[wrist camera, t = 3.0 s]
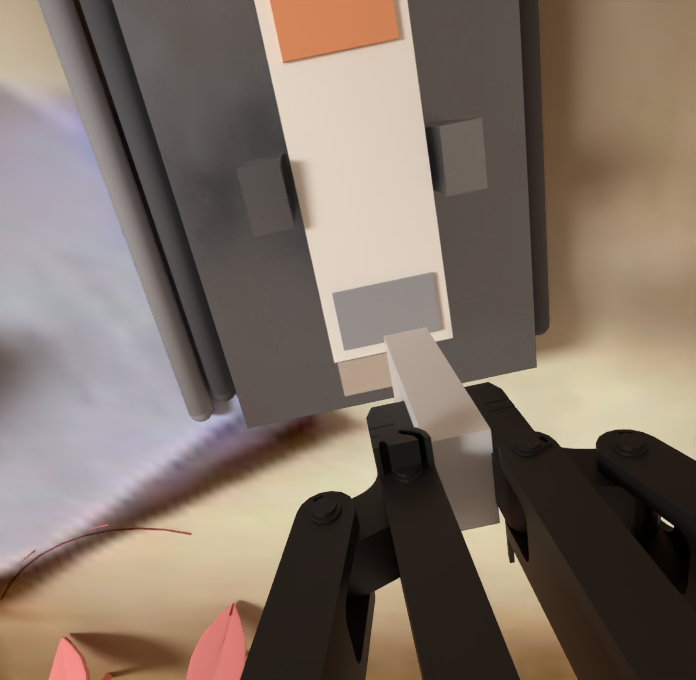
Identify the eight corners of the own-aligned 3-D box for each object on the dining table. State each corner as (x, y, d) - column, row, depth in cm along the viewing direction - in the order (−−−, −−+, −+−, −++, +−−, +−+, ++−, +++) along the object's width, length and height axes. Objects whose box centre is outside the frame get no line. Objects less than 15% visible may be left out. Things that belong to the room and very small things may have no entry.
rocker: (253, -12, 18) (245, -36, 16) (389, -41, 18) (399, -68, 16) (332, 347, 23) (334, 364, 21) (440, 323, 23) (454, 339, 21)
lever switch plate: (108, -89, 22) (-14, -230, 13) (472, -164, 22) (582, -350, 13) (253, 393, 31) (236, 491, 23) (508, 339, 31) (586, 416, 23)
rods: (22, -62, 22) (5, -75, 21) (523, -164, 22) (537, -183, 21) (195, 416, 31) (190, 428, 30) (544, 342, 31) (554, 351, 30)
